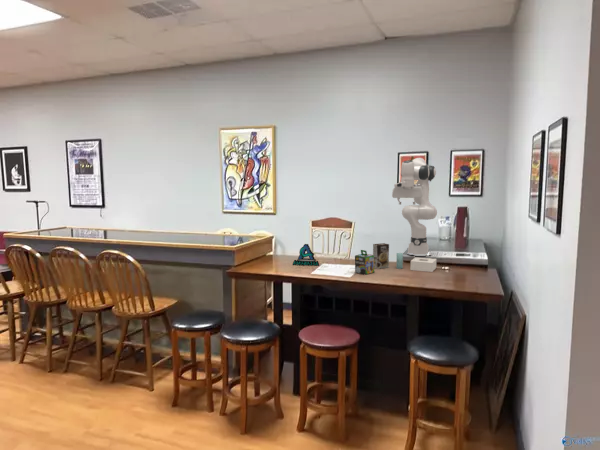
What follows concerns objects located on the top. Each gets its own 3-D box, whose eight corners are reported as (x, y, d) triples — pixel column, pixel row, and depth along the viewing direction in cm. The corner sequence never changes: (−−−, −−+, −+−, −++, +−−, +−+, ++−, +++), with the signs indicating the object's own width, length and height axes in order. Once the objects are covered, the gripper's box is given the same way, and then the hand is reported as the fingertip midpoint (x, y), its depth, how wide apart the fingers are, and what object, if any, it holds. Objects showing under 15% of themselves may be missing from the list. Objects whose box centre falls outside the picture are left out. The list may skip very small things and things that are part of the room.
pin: (397, 267, 281) (397, 252, 280) (403, 267, 279) (403, 253, 278) (395, 268, 277) (395, 253, 276) (401, 268, 276) (401, 254, 274)
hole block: (415, 265, 284) (415, 257, 284) (436, 267, 278) (436, 258, 277) (410, 270, 272) (410, 261, 271) (432, 272, 265) (432, 262, 265)
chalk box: (374, 272, 266) (374, 249, 265) (365, 275, 260) (365, 251, 259) (363, 270, 273) (363, 248, 272) (354, 272, 267) (354, 250, 266)
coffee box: (377, 268, 277) (377, 245, 275) (372, 267, 283) (372, 243, 281) (389, 267, 280) (389, 244, 278) (383, 265, 286) (384, 242, 284)
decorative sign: (319, 265, 291) (319, 244, 289) (318, 266, 289) (318, 244, 287) (293, 264, 296) (293, 243, 294) (292, 265, 293) (292, 244, 292)
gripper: (422, 184, 286) (421, 204, 287) (392, 184, 288) (391, 204, 290) (423, 184, 280) (423, 204, 281) (393, 184, 282) (392, 204, 283)
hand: (407, 204), depth 285 cm, fingers open, 8 cm apart
